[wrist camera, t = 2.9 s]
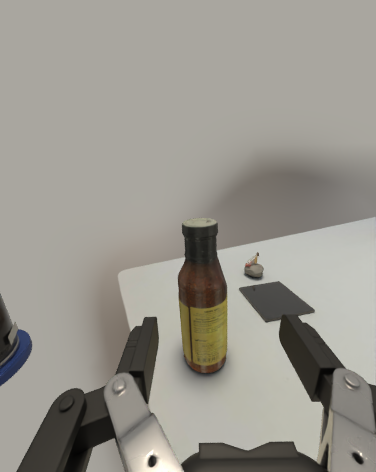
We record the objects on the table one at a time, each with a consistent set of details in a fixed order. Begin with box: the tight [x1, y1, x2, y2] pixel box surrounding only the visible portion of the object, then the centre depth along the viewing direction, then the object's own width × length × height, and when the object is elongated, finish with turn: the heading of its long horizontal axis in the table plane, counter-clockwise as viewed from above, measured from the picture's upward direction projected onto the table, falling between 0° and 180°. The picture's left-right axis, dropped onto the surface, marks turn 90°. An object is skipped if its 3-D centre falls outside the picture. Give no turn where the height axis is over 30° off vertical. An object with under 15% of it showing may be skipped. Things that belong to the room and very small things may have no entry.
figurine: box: [244, 252, 263, 277], centre depth 48 cm, size 5×4×6 cm
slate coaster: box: [239, 281, 315, 322], centre depth 39 cm, size 10×10×1 cm
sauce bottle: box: [178, 218, 227, 373], centre depth 25 cm, size 6×6×20 cm
